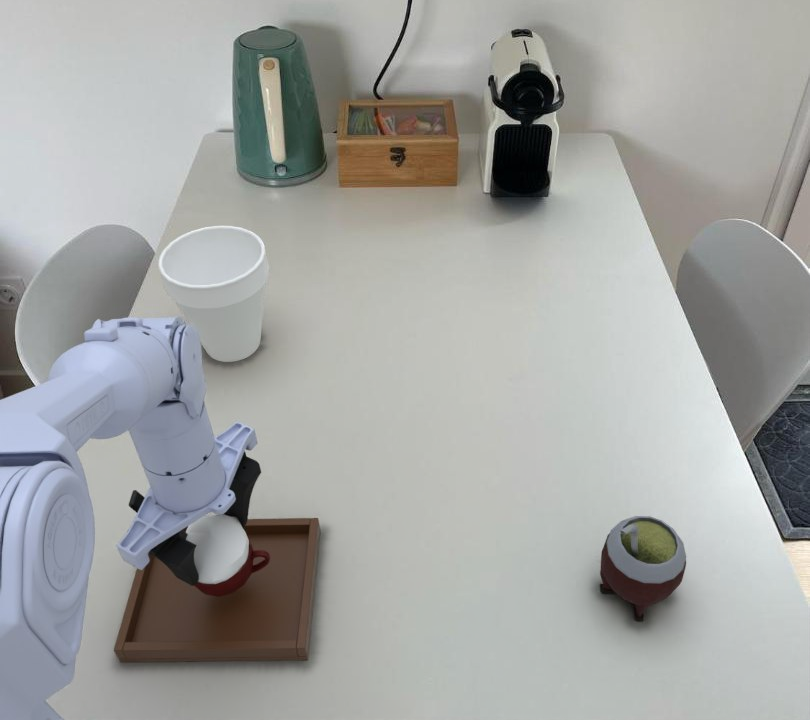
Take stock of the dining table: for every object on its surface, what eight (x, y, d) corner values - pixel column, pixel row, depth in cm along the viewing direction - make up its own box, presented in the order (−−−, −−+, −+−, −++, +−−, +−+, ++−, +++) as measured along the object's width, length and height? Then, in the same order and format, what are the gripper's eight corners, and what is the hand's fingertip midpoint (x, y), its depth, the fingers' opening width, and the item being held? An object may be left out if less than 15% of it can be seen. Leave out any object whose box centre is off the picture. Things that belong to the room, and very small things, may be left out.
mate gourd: (666, 559, 77) (699, 455, 67) (681, 636, 71) (721, 536, 61) (586, 556, 77) (607, 453, 67) (595, 633, 72) (620, 533, 61)
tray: (119, 662, 71) (113, 650, 70) (155, 532, 81) (150, 520, 80) (308, 660, 71) (305, 648, 69) (320, 530, 81) (318, 517, 79)
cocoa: (282, 563, 74) (261, 481, 66) (246, 622, 70) (219, 542, 62) (195, 531, 77) (165, 449, 69) (156, 585, 73) (119, 505, 65)
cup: (205, 308, 107) (183, 220, 98) (294, 317, 105) (279, 229, 96) (167, 371, 99) (138, 281, 89) (263, 383, 96) (244, 292, 87)
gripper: (150, 538, 56) (192, 637, 65) (275, 404, 65) (296, 507, 74) (77, 499, 59) (127, 599, 68) (207, 375, 68) (236, 479, 77)
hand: (212, 549), depth 71 cm, fingers closed on cocoa, 6 cm apart
